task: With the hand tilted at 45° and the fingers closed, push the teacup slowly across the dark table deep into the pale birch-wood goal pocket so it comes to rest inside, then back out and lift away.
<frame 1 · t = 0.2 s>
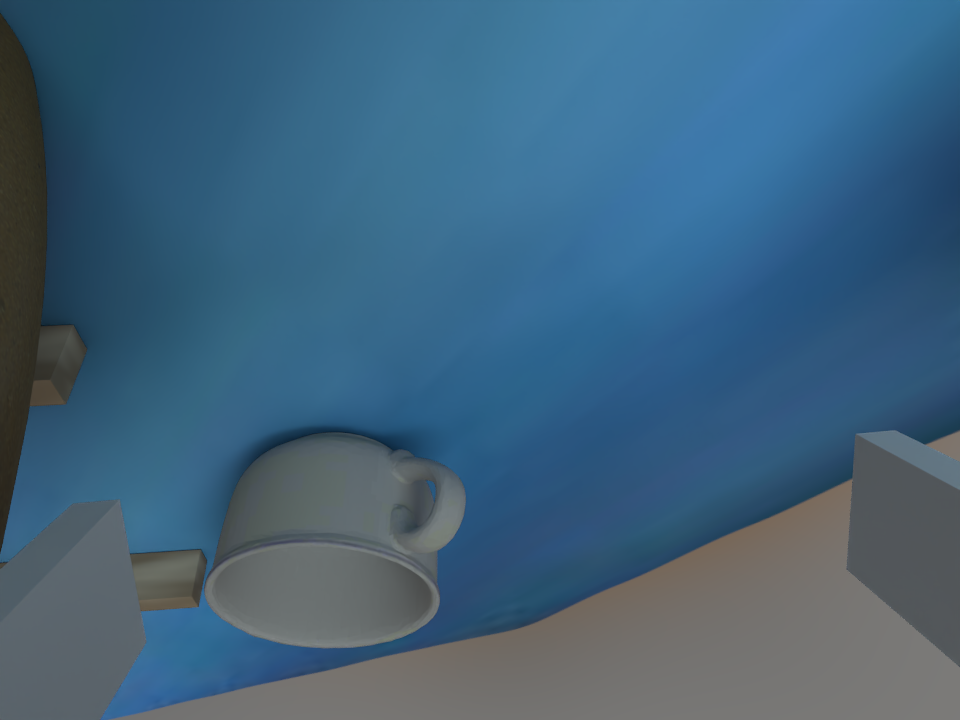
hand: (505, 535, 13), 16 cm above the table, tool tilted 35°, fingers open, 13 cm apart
teacup: (357, 451, 38), on the table
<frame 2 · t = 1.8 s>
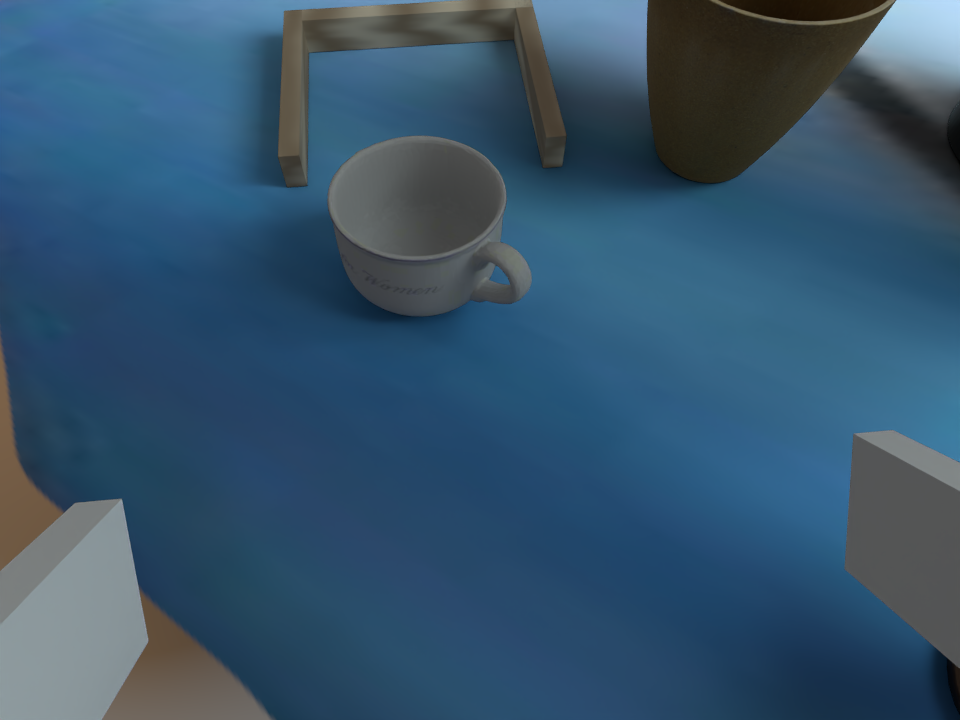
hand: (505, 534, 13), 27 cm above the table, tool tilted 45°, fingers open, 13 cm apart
plant pot: (704, 153, 56), on the table
goal pocket: (418, 106, 58), on the table
teacup: (438, 288, 49), on the table
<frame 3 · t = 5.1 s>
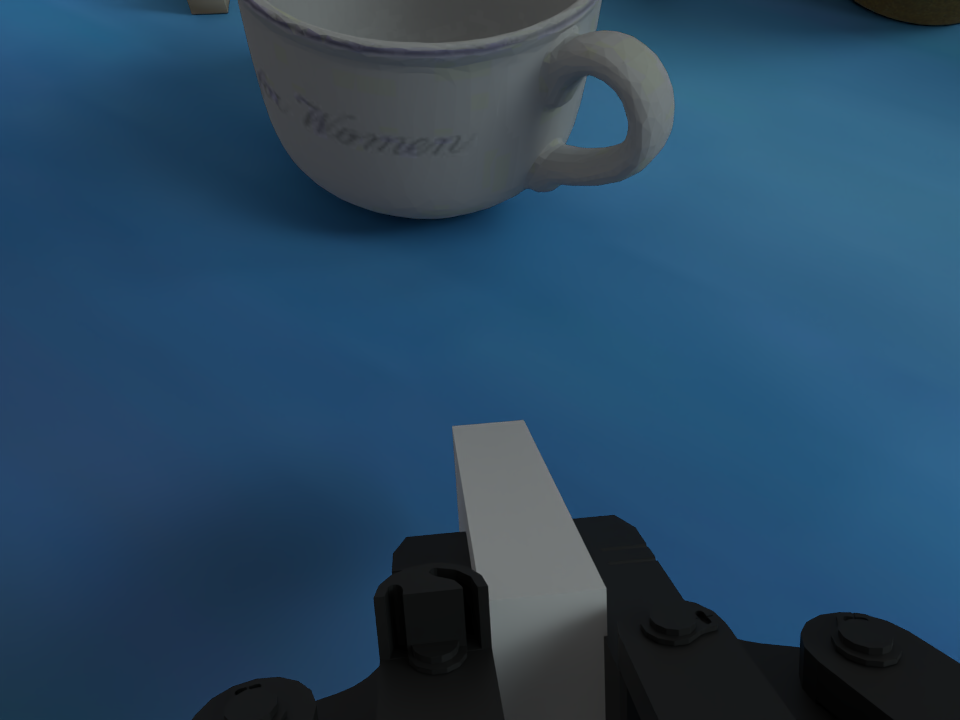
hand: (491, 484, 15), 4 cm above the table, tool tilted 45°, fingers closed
teacup: (457, 180, 26), on the table
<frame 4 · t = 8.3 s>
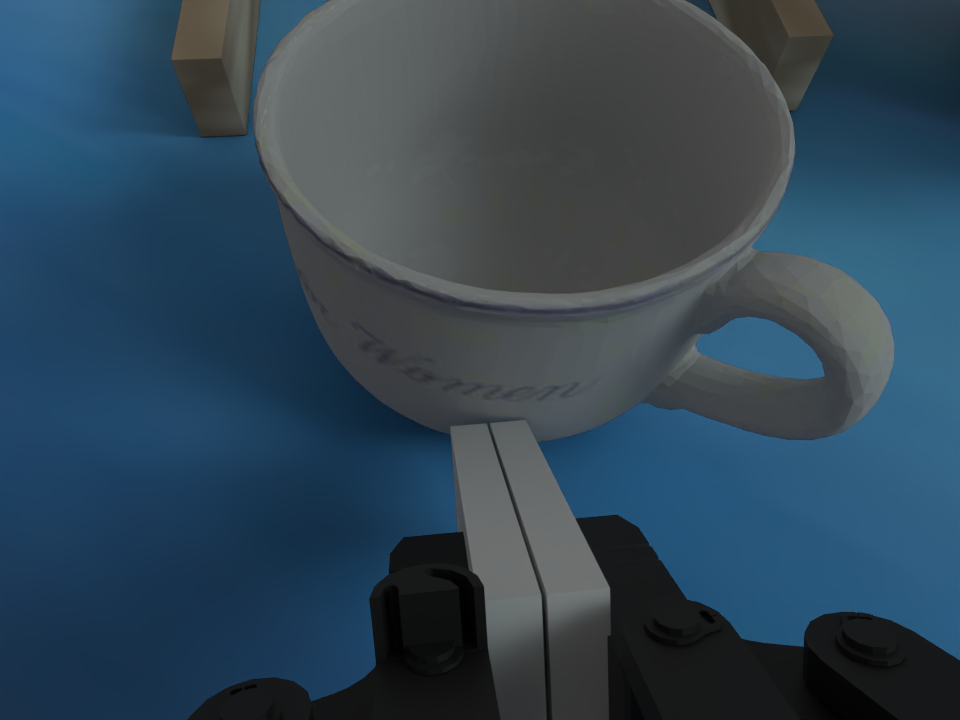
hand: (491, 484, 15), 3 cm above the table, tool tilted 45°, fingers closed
teacup: (539, 353, 20), on the table, touching gripper
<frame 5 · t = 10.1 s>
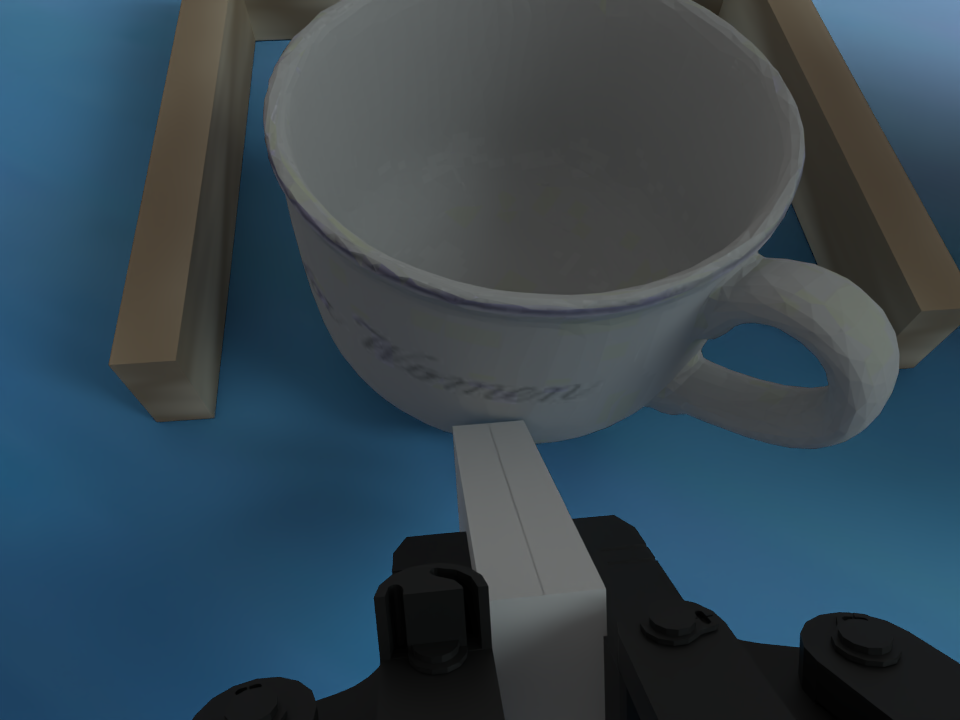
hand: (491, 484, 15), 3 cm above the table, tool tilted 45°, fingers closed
goal pocket: (514, 181, 24), on the table
teacup: (545, 355, 20), on the table, touching gripper
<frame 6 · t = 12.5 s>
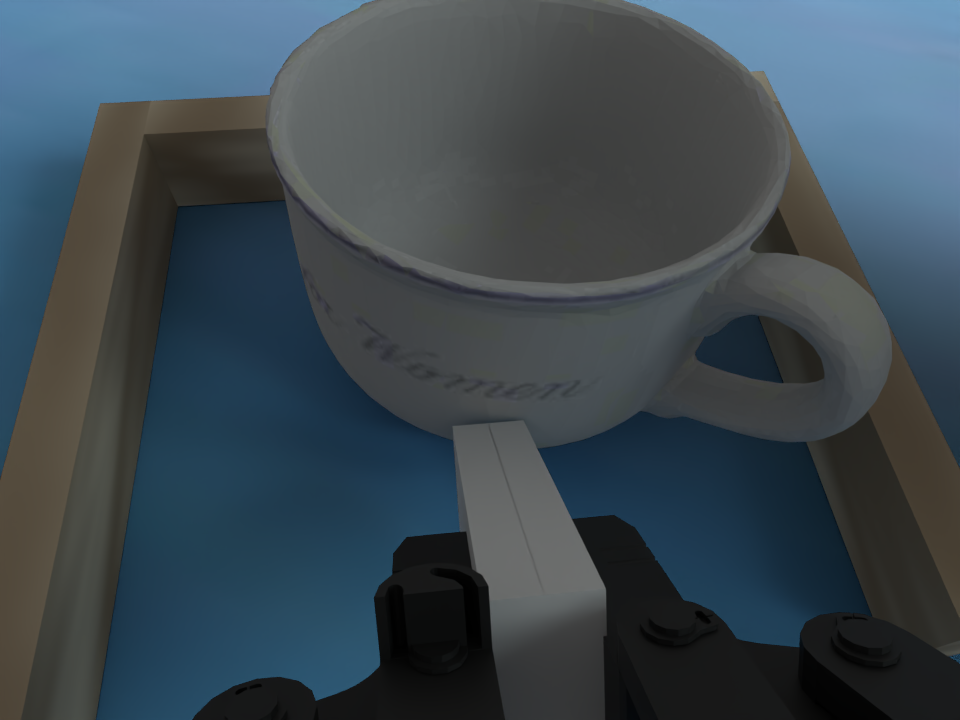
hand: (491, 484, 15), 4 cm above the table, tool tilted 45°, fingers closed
goal pocket: (471, 394, 20), on the table
teacup: (539, 368, 21), on the table, touching gripper
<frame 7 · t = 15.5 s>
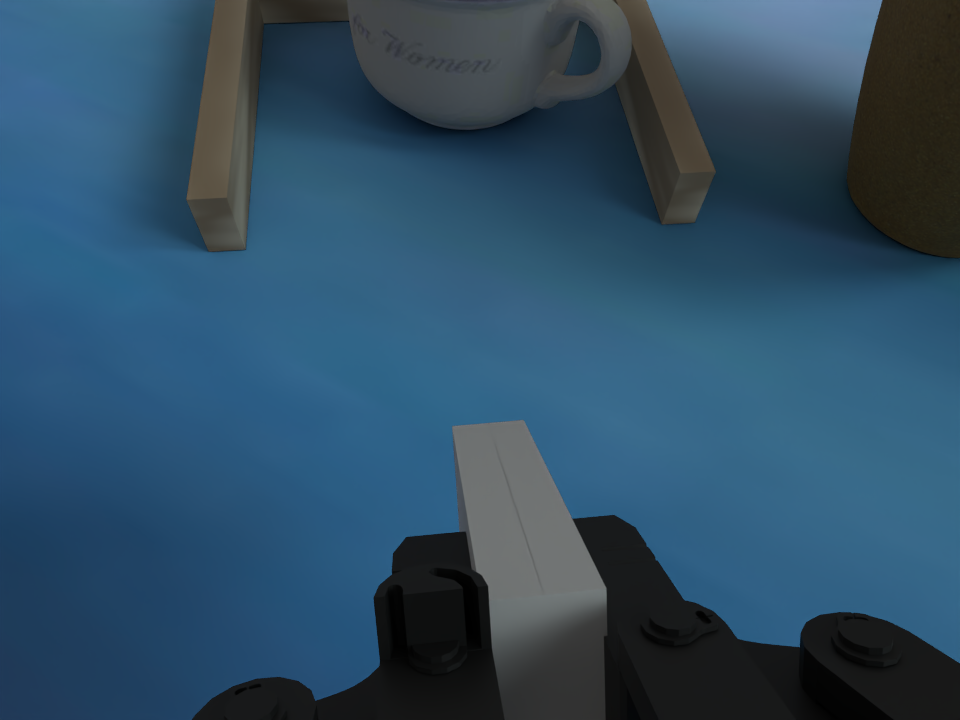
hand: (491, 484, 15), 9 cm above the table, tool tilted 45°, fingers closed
plant pot: (929, 203, 33), on the table
goal pocket: (443, 114, 35), on the table
teacup: (483, 107, 36), on the table
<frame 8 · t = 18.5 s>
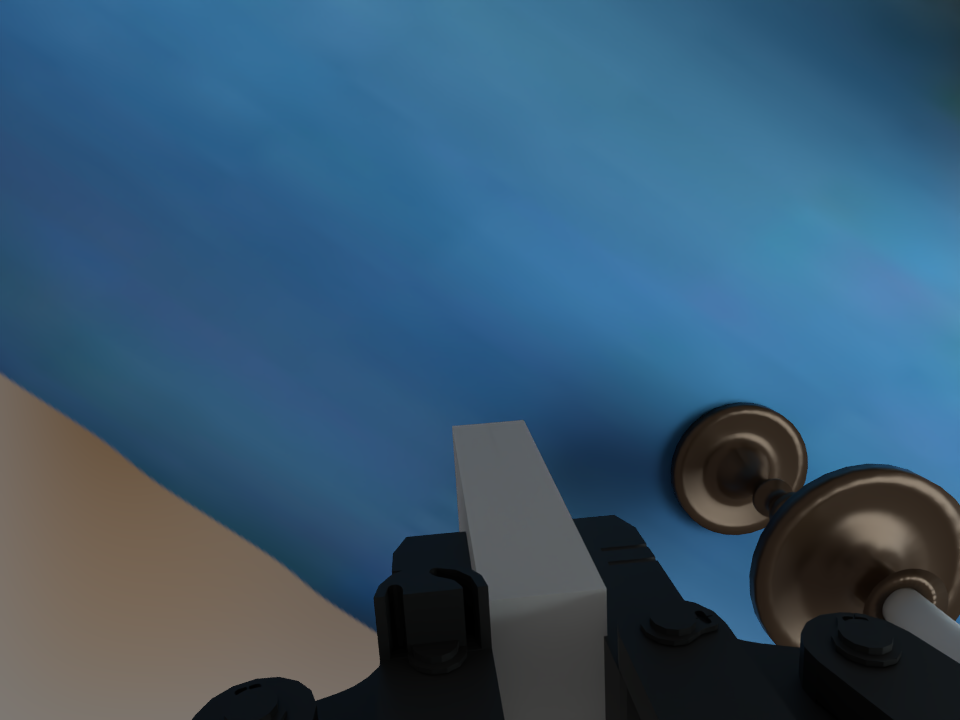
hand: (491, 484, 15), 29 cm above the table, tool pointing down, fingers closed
candlestick: (734, 465, 48), on the table
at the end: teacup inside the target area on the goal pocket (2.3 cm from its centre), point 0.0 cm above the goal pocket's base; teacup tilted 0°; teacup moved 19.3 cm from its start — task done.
